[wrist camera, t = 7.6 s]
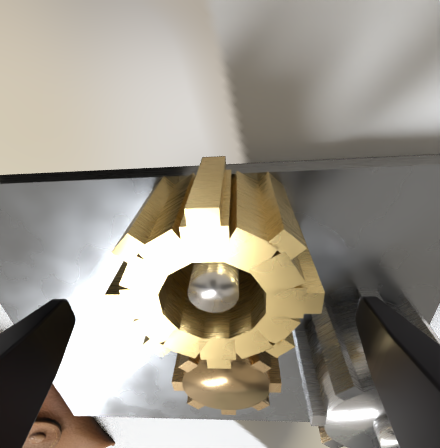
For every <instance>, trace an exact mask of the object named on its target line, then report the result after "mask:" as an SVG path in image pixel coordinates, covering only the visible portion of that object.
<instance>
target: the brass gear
mask: <svg viewBox="0 0 440 448" xmlns="http://www.w3.org/2000/svg"><path fill="white" fill-rule="evenodd" d="M225 160H226V159H225V156H219V157H203V158H202V160H201V163H200V166H199V169H198V172H197V174H196V175H195V174H194V173H192V174H190V175H189V176H187V177H186V178H184V179H183V180H181V181H180V182H178V183H176V184H174V183H173V182H171V181H170V180H169V179H167V178H166V177H165V176H163V178H162V179H161V180H160V181H159V182H158V184H157V185H156V186H155V187H154V189H153V190H152V191H151V193H150V194H149V196H148V197H147V199H146V200H145V202H144V203H143V205H142V206H141V208H140V209H139V211H138V212H137V214H136V215H135V217H134V218H133V220H132V222H131V223H130V225H129V226H128V228H127V229H126V231H125V232H124V234H123V235H122V237H121V238H120V240H119V241H118V243H117V244H116V246H115V247H114V249H113V250H112V252H111V253H113V254H114V255H116V256H118V257H119V258H121V259H122V260H124V261H123V263H122V264H121V266H120V268H119V270H118V271H117V273H116V275H115V277H114V279H113V280H112V282H111V284H110V286H109V287H108V289H107V291H106V293H105V294H104V296H105V299H106V301H107V304H108V306H109V309H110V312H111V314H127V315H128V318H129V319H133V322H132V324H134V325H135V326H136V327H137V328H138V329H139V330H141V331H142V332H143V333H144V334H145V338H144V341H143V344H142V346H143V347H145V348H146V349H148V350H150V351H152V352H154V353H156V354H157V355H159V356H161V357H163V356H164V355H165V354H167V353H168V352H169V351H174V352H177V353H180V354H183V355H186V356H189V357H192V358H196V356H197V355H198V354H199V353H200V358H201V360H207V367H208V368H216V369H231V360H236V353H237V354H238V355H239V356H240V357H241V359H244V358H246V357H249V356H252V355H255V354H258V353H261V352H264V351H266V352H268V353H269V354H271V355H272V356H274V357H276V358H277V357H279V356H280V355H282V354H284V353H286V352H287V351H289V350H291V349H293V348H294V347H295V343H294V338H293V333H292V331H293V330H294V329H295V328H296V327H297V326H298V325H299V324H300V323H301V322H300V318H303V316H304V314H321V313H322V308H323V302H324V296H325V291H324V289H323V286H322V284H321V281H320V278H319V276H318V273H317V271H316V268H315V265H314V263H313V260H312V257H311V255H310V252H309V250H308V247H307V244H306V242H305V239H304V236H303V234H302V231H301V229H300V226H299V223H298V221H297V220H296V218H295V215H294V213H293V210H292V207H291V205H290V202H289V199H288V197H287V194H286V191H285V189H284V186H283V185H282V184H281V183H280V182H279V181H278V180H277V179H276V178H275V177H274V176H273V175H271V174H270V173H269V172H267V173H266V174H265V175H264V176H263V177H262V178H260V179H259V180H258V181H257V180H255V179H253V178H251V177H249V176H247V175H245V174H243V173H241V172H239V171H236V173H235V175H234V177H233V178H232V174H231V169H230V170H226V161H225ZM194 262H225V263H227V264H229V265H232V266H234V267H236V268H239V298H238V301H237V303H236V304H235V305H234V306H233V307H232V308H231V309H229V310H227V311H224V312H218V313H212V312H206V311H203V310H201V309H199V308H197V307H196V306H194V305H193V304H192V303H191V301H190V300H189V297H188V287H189V283H190V278H191V273H192V269H193V264H194Z"/></svg>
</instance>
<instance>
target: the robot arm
mask: <svg viewBox="0 0 440 448" xmlns="http://www.w3.org/2000/svg"><path fill="white" fill-rule="evenodd" d="M75 323H76V316H75V314H74V312H73V310H72V307H71V305H70V303H69V301H68V300H66V299H52V300H50V301H49V302H47V303H46V304H44V305H43V306H41V307H40V308H38V309H37V310H35V311H34V312H32V313H31V314H29V315H28V316H26V317H25V318H23V319H22V320H20V321H19V322H17V323H16V324H14V325H13V326H11V327H10V328H8V329H7V330H5V331H4V332H2V333H1V334H0V448H22V447H23V445H24V443H25V441H26V439H27V437H28V435H29V432H30V430H31V428H32V426H33V424H34V422H35V420H36V418H37V415H38V413H39V411H40V409H41V407H42V405H43V403H44V401H45V398H46V396H47V394H48V392H49V390H50V388H51V386H52V384H53V381H54V379H55V377H56V375H57V373H58V370H59V368H60V365H61V362H62V360H63V357H64V354H65V351H66V349H67V346H68V343H69V340H70V337H71V335H72V332H73V329H74V326H75ZM355 323H356V326H357V330H358V333H359V337H360V340H361V344H362V347H363V351H364V354H365V358H366V361H367V365H368V368H369V371H370V374H371V377H372V380H373V382H374V385H375V388H376V390H377V392H378V395H379V397H380V400H381V402H382V405H383V407H384V410H385V412H386V415H387V417H388V420H389V422H390V425H391V427H392V429H393V432H394V434H395V437H396V439H397V442H398V444H399V447H400V448H440V344H439V343H437V342H436V341H435V340H433V339H432V338H431V337H429V336H428V335H427V334H425V333H424V332H423V331H421V330H420V329H419V328H418V327H416V326H415V325H414V324H412V323H411V322H410V321H408V320H407V319H406V318H404V317H403V316H402V315H400V314H399V313H398V312H396V311H395V310H394V309H393V308H391V307H390V306H389V305H387V304H386V303H385V302H383V301H382V300H381V299H379V298H378V297H376V296H362V297H361V298H360V299H359V303H358V306H357V310H356V314H355Z"/></svg>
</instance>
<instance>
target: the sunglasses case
mask: <svg viewBox="0 0 440 448" xmlns="http://www.w3.org/2000/svg"><path fill="white" fill-rule="evenodd" d="M114 444H115V442H114V441H113V439H112V438H111V437H110V436H109V435H108V434H107V433H106V432H105V431H104V430H103V429H102V428H101V427H100V426H99V424H98V423H97V422H96V420H95V419H94V418H93V417H92V416H74V415H73V413H72V412H71V410H70V408H69V407H68V405H67V404H66V402H65V401H64V399H63V398H62V396H61V395H60V393H59V392H58V390H57V389H56V387H55V386H54V384H52V386H51V388H50V390H49V392H48V394H47V396H46V398H45V401H44V403H43V405H42V407H41V409H40V411H39V413H38V415H37V418H36V420H35V422H34V424H33V426H32V428H31V430H30V432H29V435H28V437H27V439H26V441H25V443H24V445H23V447H22V448H106V447H108V446H110V445H112V446H114Z"/></svg>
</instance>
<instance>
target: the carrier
mask: <svg viewBox="0 0 440 448" xmlns="http://www.w3.org/2000/svg"><path fill="white" fill-rule="evenodd" d="M198 169H199V166H183V167H164V168H163V167H162V168H141V169H119V170H98V171H77V172H55V173H35V174H12V175H0V304H1V305H2V307H3V308H4V310H5V311H6V313H7V314H8V316H9V317H10V319H11V321H12V322H13V324H16V323H17V322H19V321H20V320H22V319H23V318H25V317H26V316H28V315H29V314H31V313H32V312H34V311H35V310H37V309H38V308H40V307H41V306H43V305H44V304H46V303H47V302H49V301H50V300H52V299H66V300H68V301H69V303H70V305H71V307H72V310H73V312H74V314H75V316H76V323H75V326H74V329H73V332H72V335H71V337H70V340H69V343H68V346H67V349H66V351H65V354H64V357H63V360H62V362H61V365H60V368H59V370H58V373H57V375H56V377H55V379H54V381H53V384H54V386H55V387H56V389H57V390H58V392H59V393H60V395H61V396H62V398H63V399H64V401H65V402H66V404H67V405H68V407H69V408H70V410H71V412H72V413H73V415H74V416H104V417H142V418H181V419H220V420H259V421H261V420H262V421H299V422H310V424H311V426H318V427H319V431H320V435H321V440H322V444H324V445H326V446H328V447H330V448H340V447H343V446H345V447H348V448H400V447H399V444H398V442H397V439H396V437H395V434H394V432H393V429H392V427H391V425H390V422H389V420H388V417H387V415H386V412H385V410H384V407H383V405H382V402H381V400H380V397H379V395H378V392H377V390H376V388H375V385H374V382H373V380H372V377H371V374H370V371H369V368H368V365H367V361H366V358H365V354H364V351H363V347H362V344H361V340H360V337H359V333H358V330H357V326H356V323H355V314H356V310H357V306H358V303H359V299H360V298H361V297H362V296H376V297H378V298H379V299H381V300H382V301H383V302H385V303H386V304H387V305H389V306H390V307H391V308H393V309H394V310H395V311H396V312H398V313H399V314H400V315H402V316H403V317H404V318H406V319H407V320H408V321H410V322H411V323H412V324H414V325H415V326H416V327H418V328H419V329H420V330H421V331H423V332H424V333H425V334H427V335H428V336H429V337H431V338H432V339H433V340H435V341H436V342H437V343H439V344H440V339H439V338H438V336H437V335H436V334H435V332H434V331H433V330H432V328H431V327H430V325H429V324H430V322H431V320H432V318H433V316H434V314H435V312H436V310H437V307H438V305H439V303H440V154H439V155H417V156H396V157H375V158H353V159H332V160H311V161H289V162H268V163H247V164H228V165H227V164H226V170H230V169H231V174H232V178H233V177H234V175H235V173H236V171H239V172H241V173H243V174H245V175H247V176H249V177H251V178H253V179H255V180H257V181H258V180H259V179H260V178H262V177H263V176H264V175H265V174H266V173H267V172H269V173H270V174H271V175H273V176H274V177H275V178H276V179H277V180H278V181H279V182H280V183H281V184H282V185H283V186H284V189H285V191H286V194H287V197H288V199H289V202H290V205H291V207H292V210H293V213H294V215H295V218H296V220H297V221H298V223H299V226H300V229H301V231H302V234H303V236H304V239H305V242H306V244H307V247H308V250H309V252H310V255H311V257H312V260H313V263H314V265H315V268H316V271H317V273H318V276H319V278H320V281H321V284H322V286H323V289H324V291H325V296H324V302H323V308H322V313H321V314H304V316H303V318H300V322H301V323H300V324H299V325H298V326H297V327H296V328H295V329H294V330H293V331H292V333H293V338H294V343H295V347H294V348H293V349H291V350H289V351H287V352H286V353H284V354H282V355H280V356H279V357H277V358H276V357H274V356H272V355H271V354H269V353H268V352H266V351H264V352H261V353H258V354H255V355H252V356H249V357H246V358H244V359H241V357H240V356H239V355H238V354H237V353H236V360H231V369H216V368H208V367H207V360H201V358H200V353H199V354H198V355H197V356H196V358H192V357H189V356H186V355H183V354H180V353H177V352H174V351H169V352H168V353H167V354H165V355H164V356H163V357H161V356H159V355H157V354H156V353H154V352H152V351H150V350H148V349H146V348H145V347H143V346H142V344H143V341H144V338H145V334H144V333H143V332H142V331H141V330H139V329H138V328H137V327H136V326H135V325H134V324H132V322H133V319H129V318H128V315H127V314H111V312H110V309H109V306H108V304H107V301H106V299H105V296H104V294H105V293H106V291H107V289H108V287H109V286H110V284H111V282H112V280H113V279H114V277H115V275H116V273H117V271H118V270H119V268H120V266H121V264H122V263H123V261H124V260H122V259H121V258H119V257H118V256H116V255H114V254H113V253H111V252H112V250H113V249H114V247H115V246H116V244H117V243H118V241H119V240H120V238H121V237H122V235H123V234H124V232H125V231H126V229H127V228H128V226H129V225H130V223H131V222H132V220H133V218H134V217H135V215H136V214H137V212H138V211H139V209H140V208H141V206H142V205H143V203H144V202H145V200H146V199H147V197H148V196H149V194H150V193H151V191H152V190H153V189H154V187H155V186H156V185H157V184H158V182H159V181H160V180H161V179H162V178H163V176H165V177H166V178H167V179H169V180H170V181H171V182H173V183H174V184H176V183H178V182H180V181H181V180H183V179H184V178H186V177H187V176H189V175H190V174H192V173H194V174H195V175H196V174H197V172H198ZM188 297H189V300H190V301H191V303H192V304H193V305H194V306H196V307H197V308H199V309H201V310H203V311H206V312H212V313H218V312H224V311H227V310H229V309H231V308H232V307H233V306H234V305H235V304H236V303H237V301H238V298H239V268H236V267H234V266H232V265H229V264H227V263H225V262H194V264H193V269H192V273H191V278H190V283H189V287H188Z"/></svg>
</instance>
